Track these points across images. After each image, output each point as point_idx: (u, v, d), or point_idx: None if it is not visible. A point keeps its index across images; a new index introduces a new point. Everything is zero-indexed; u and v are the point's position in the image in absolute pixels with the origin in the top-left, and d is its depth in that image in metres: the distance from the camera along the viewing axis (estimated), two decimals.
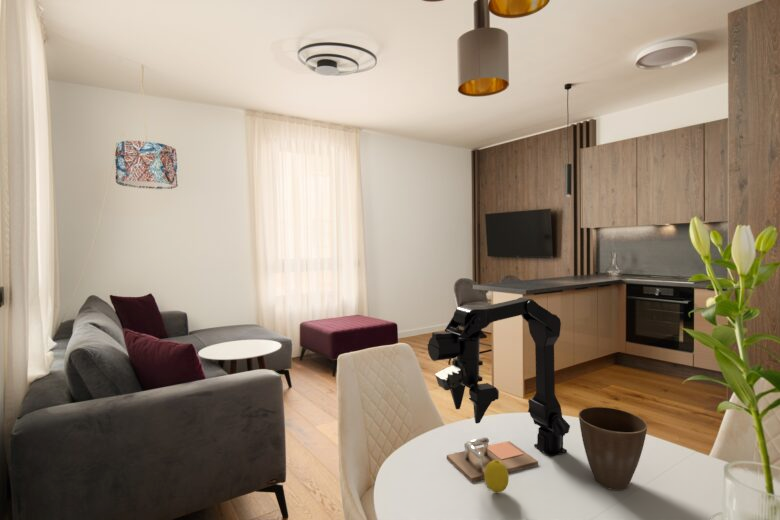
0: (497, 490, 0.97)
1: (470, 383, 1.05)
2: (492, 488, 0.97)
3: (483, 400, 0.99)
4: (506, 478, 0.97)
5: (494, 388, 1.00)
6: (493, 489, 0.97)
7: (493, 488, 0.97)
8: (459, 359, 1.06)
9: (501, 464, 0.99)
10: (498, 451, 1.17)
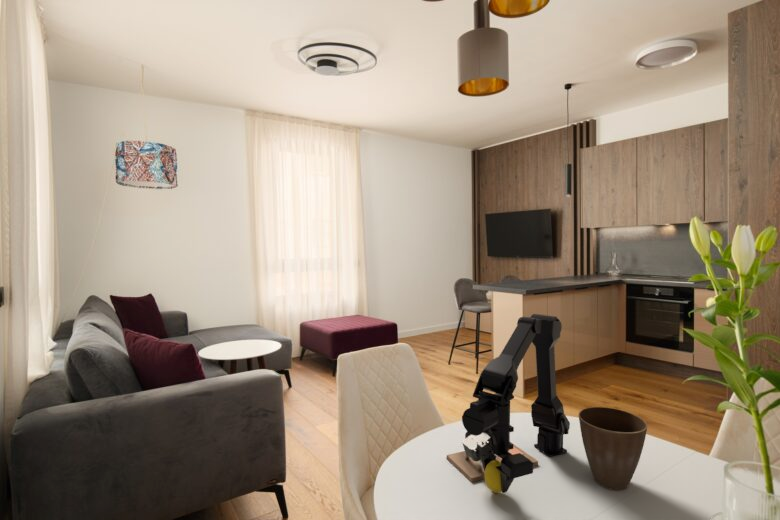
0: (497, 490, 0.97)
1: (500, 452, 0.96)
2: (492, 488, 0.97)
3: (517, 475, 0.90)
4: None
5: (528, 461, 0.91)
6: (493, 489, 0.97)
7: (493, 488, 0.97)
8: None
9: None
10: None
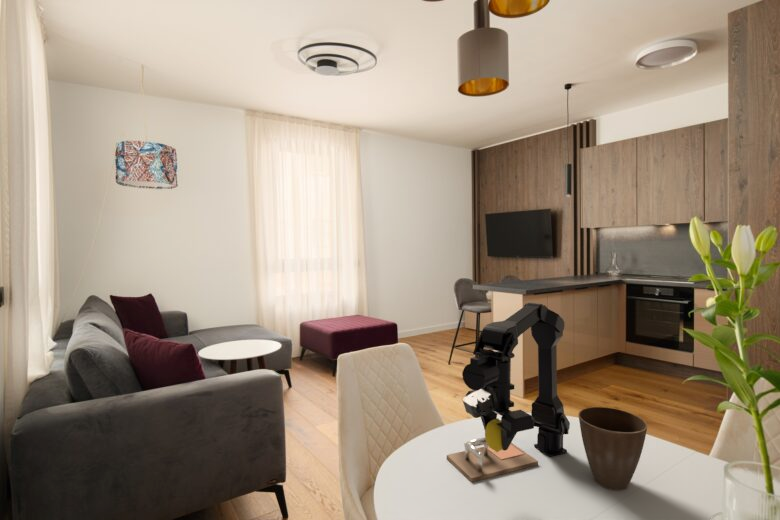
0: (498, 448, 0.97)
1: (501, 409, 0.96)
2: (493, 446, 0.97)
3: (518, 430, 0.89)
4: None
5: (529, 416, 0.91)
6: (494, 447, 0.97)
7: (494, 446, 0.97)
8: None
9: None
10: (498, 451, 1.17)
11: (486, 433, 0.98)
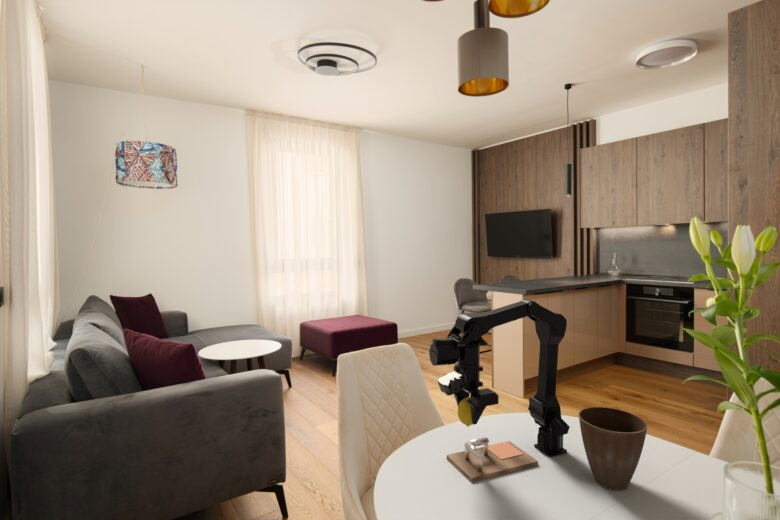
0: (468, 422, 1.10)
1: (471, 388, 1.09)
2: (464, 421, 1.10)
3: (484, 405, 1.03)
4: None
5: (494, 393, 1.04)
6: (465, 422, 1.10)
7: (465, 421, 1.10)
8: (460, 365, 1.10)
9: None
10: (498, 451, 1.17)
11: (458, 410, 1.12)
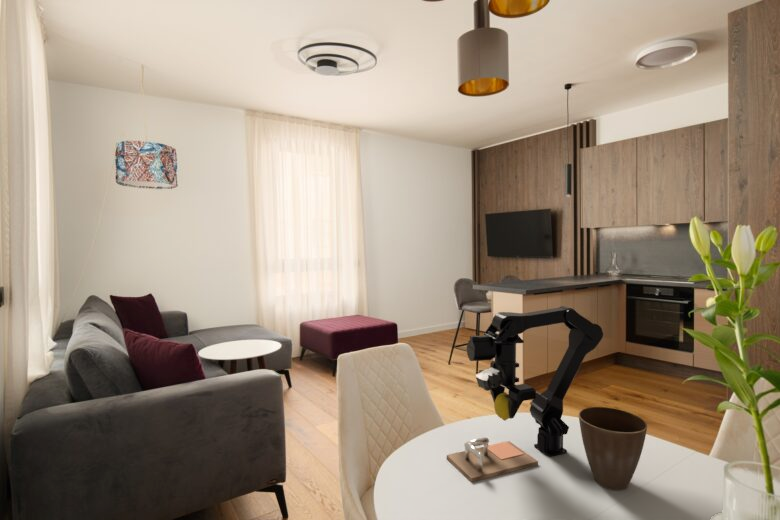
0: (505, 416, 1.15)
1: (508, 384, 1.14)
2: (501, 415, 1.15)
3: (522, 399, 1.07)
4: None
5: (532, 388, 1.09)
6: (502, 416, 1.15)
7: (502, 415, 1.15)
8: (497, 362, 1.15)
9: None
10: (498, 451, 1.17)
11: (495, 404, 1.16)
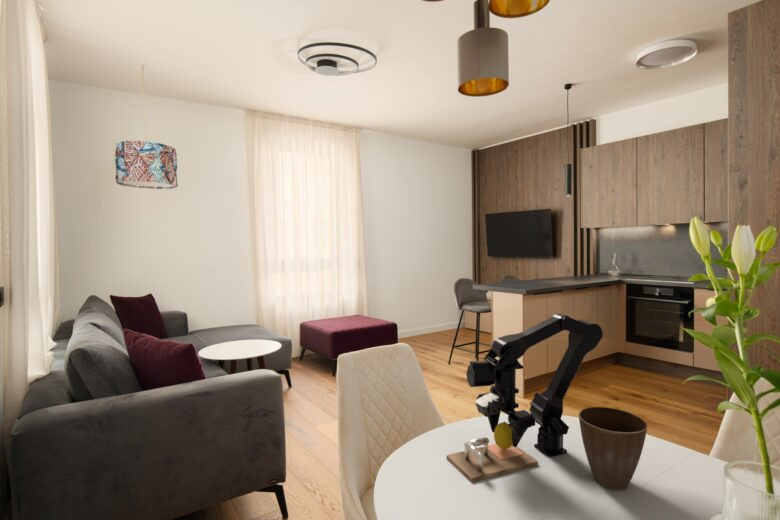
0: (505, 447, 1.15)
1: (508, 410, 1.14)
2: (500, 445, 1.15)
3: (522, 427, 1.08)
4: None
5: (531, 415, 1.09)
6: (501, 446, 1.15)
7: (502, 445, 1.15)
8: (497, 387, 1.15)
9: None
10: (498, 451, 1.17)
11: (495, 434, 1.17)
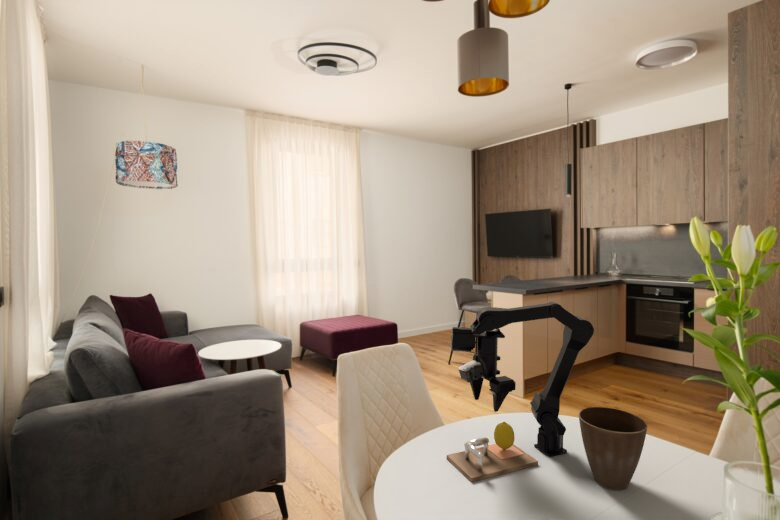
0: (505, 447, 1.15)
1: (489, 376, 1.18)
2: (500, 445, 1.15)
3: (502, 390, 1.12)
4: (512, 436, 1.15)
5: (512, 380, 1.13)
6: (501, 446, 1.15)
7: (502, 445, 1.15)
8: (479, 354, 1.19)
9: (508, 425, 1.16)
10: (498, 451, 1.17)
11: (495, 434, 1.17)
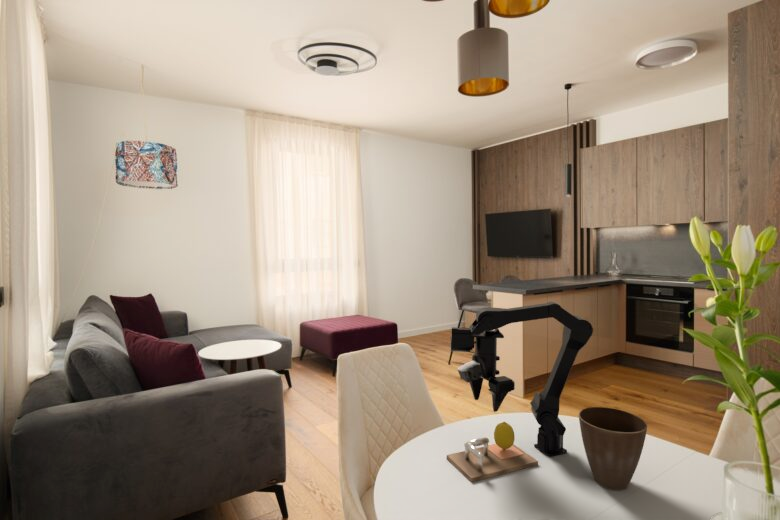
0: (505, 447, 1.15)
1: (489, 376, 1.18)
2: (500, 445, 1.15)
3: (501, 390, 1.12)
4: (512, 436, 1.15)
5: (511, 380, 1.14)
6: (501, 446, 1.15)
7: (502, 445, 1.15)
8: (479, 355, 1.19)
9: (508, 425, 1.16)
10: (498, 451, 1.17)
11: (495, 434, 1.17)
